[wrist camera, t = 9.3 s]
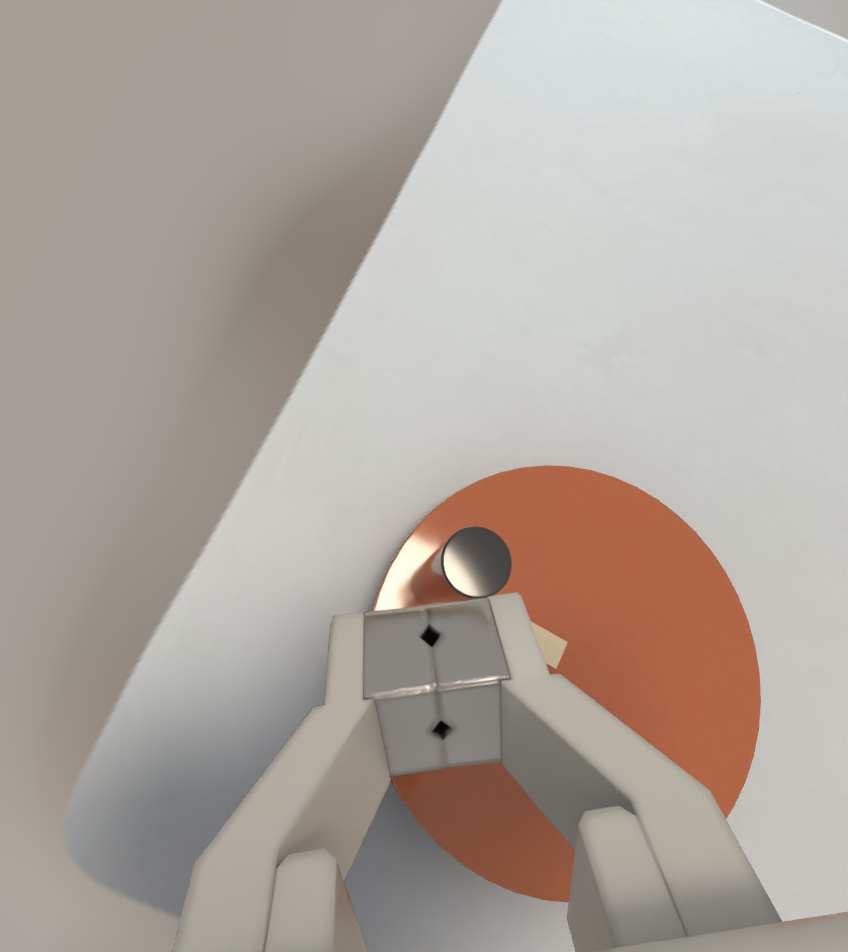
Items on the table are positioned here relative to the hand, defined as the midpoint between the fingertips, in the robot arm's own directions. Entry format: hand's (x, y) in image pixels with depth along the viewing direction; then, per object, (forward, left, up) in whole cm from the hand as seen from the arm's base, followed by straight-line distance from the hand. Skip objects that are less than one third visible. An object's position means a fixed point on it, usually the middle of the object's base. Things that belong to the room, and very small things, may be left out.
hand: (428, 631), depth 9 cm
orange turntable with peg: (+4, -7, -14) cm, 17 cm away
